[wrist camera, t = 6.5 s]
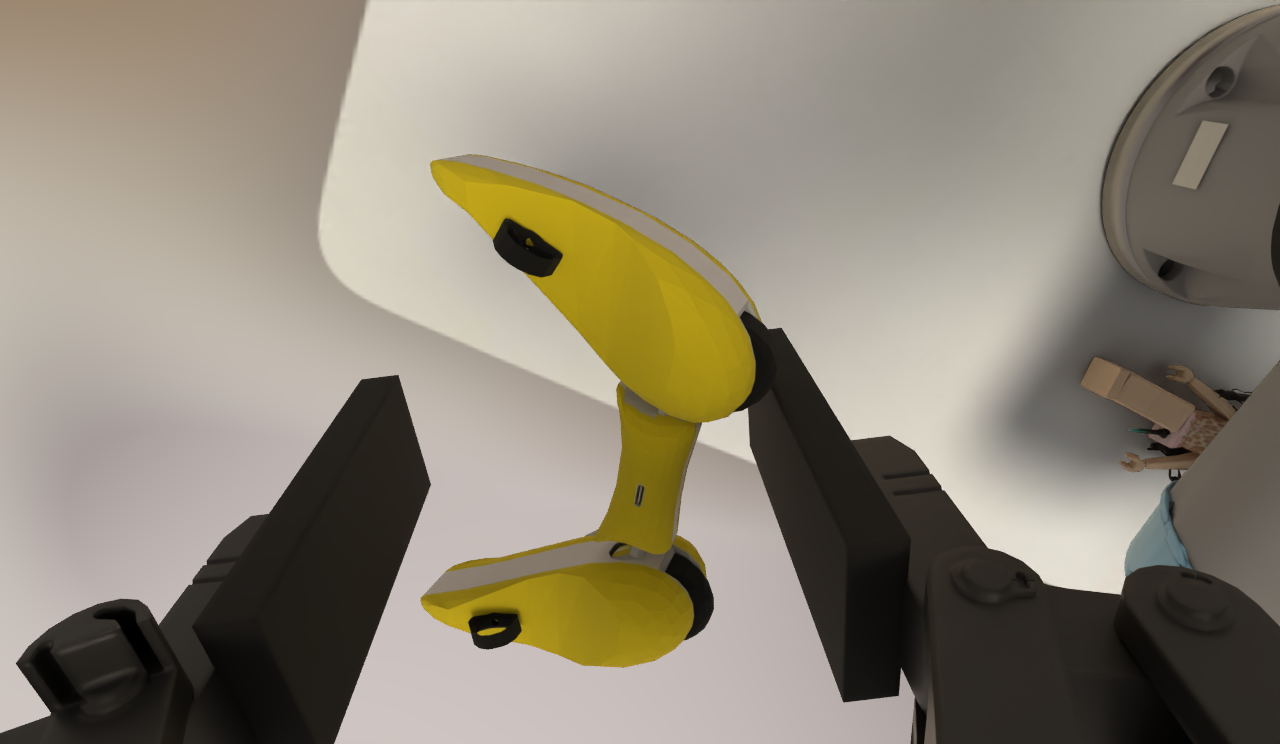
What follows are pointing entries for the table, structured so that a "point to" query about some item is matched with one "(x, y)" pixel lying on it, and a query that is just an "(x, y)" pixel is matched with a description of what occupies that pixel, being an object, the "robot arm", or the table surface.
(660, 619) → the yellow curved piece
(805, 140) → the table surface
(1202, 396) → the toy figure
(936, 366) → the table surface
